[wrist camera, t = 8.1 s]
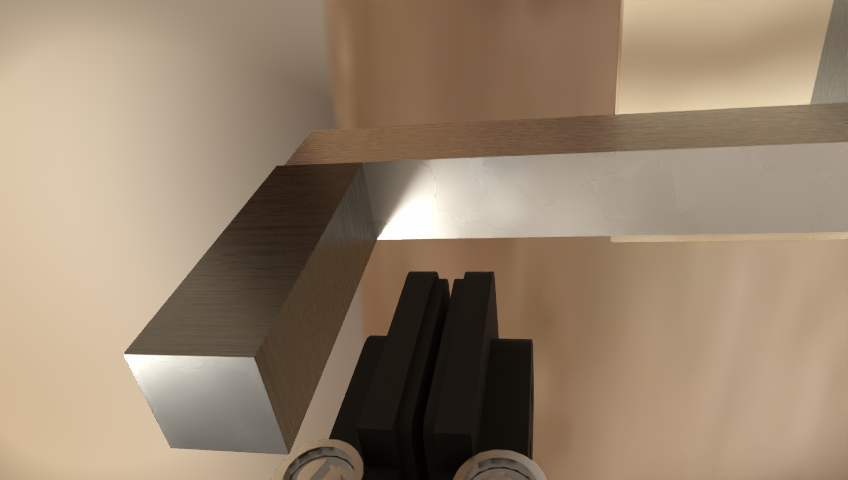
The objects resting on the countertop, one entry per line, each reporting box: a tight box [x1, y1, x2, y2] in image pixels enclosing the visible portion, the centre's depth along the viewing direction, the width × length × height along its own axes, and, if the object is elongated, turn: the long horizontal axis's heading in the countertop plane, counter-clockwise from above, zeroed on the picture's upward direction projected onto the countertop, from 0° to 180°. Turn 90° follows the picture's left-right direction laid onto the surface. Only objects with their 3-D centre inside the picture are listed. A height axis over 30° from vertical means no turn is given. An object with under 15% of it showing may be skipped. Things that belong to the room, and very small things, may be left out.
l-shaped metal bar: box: [123, 102, 848, 455], centre depth 13 cm, size 2×20×10 cm, turn 97°
